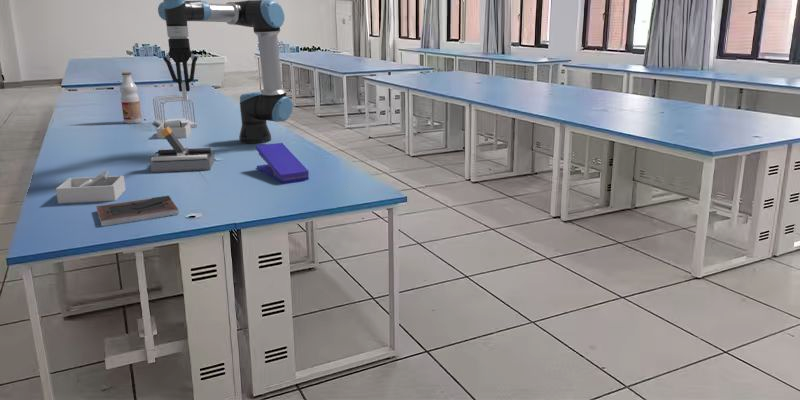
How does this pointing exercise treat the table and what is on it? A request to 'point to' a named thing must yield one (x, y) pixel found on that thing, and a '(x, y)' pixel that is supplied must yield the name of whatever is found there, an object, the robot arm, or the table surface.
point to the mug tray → (176, 131)
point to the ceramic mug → (173, 124)
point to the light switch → (95, 180)
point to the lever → (172, 140)
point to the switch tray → (90, 190)
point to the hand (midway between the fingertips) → (185, 99)
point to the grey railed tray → (177, 158)
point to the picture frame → (136, 210)
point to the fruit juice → (130, 100)
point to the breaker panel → (183, 163)
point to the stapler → (281, 163)
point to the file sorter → (183, 120)
